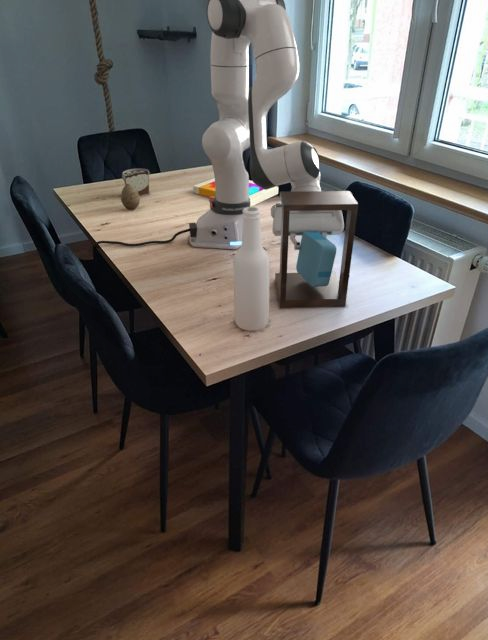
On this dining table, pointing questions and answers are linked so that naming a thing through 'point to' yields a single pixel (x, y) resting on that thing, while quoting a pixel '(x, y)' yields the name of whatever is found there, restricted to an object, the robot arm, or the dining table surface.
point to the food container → (137, 180)
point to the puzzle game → (254, 191)
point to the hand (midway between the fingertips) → (309, 249)
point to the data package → (316, 259)
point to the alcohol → (251, 275)
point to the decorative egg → (130, 197)
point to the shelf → (302, 294)
